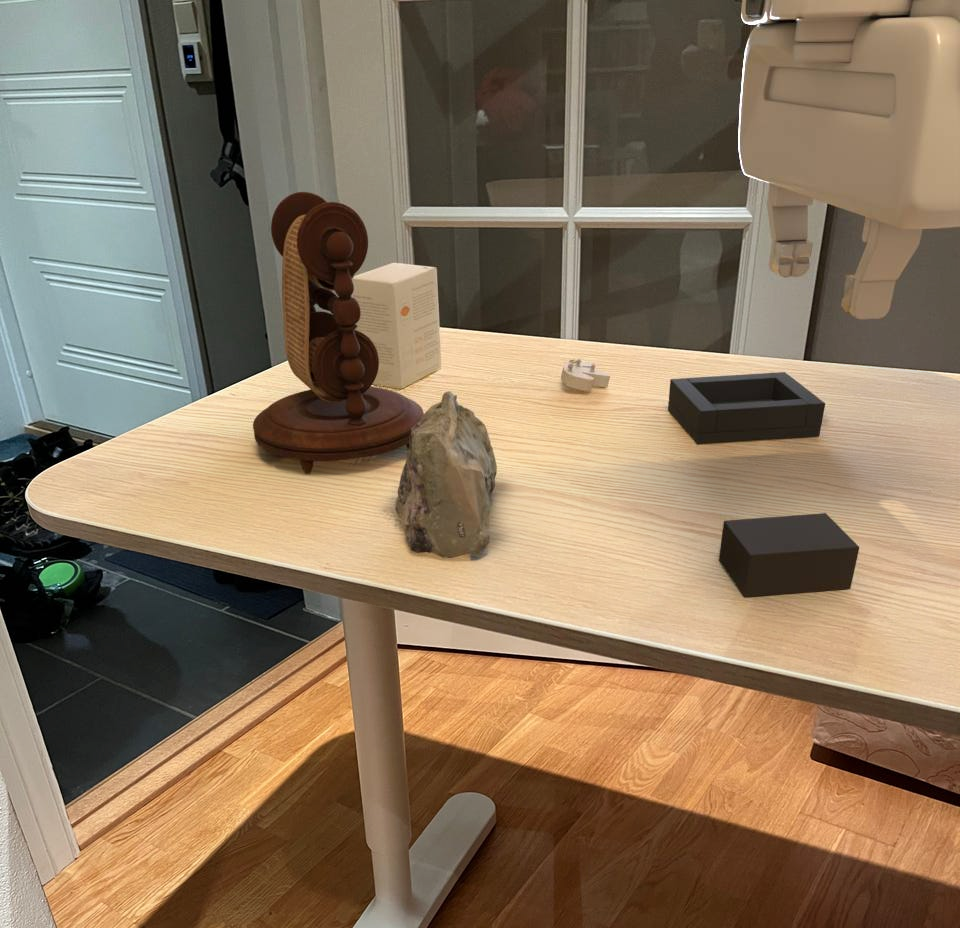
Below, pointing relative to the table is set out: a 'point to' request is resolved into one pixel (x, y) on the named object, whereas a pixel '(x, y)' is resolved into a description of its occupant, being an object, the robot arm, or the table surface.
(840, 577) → the black rectangular block
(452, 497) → the mineral rock
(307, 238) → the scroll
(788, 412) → the socket pad
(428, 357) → the small box
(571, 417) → the table surface
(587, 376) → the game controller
